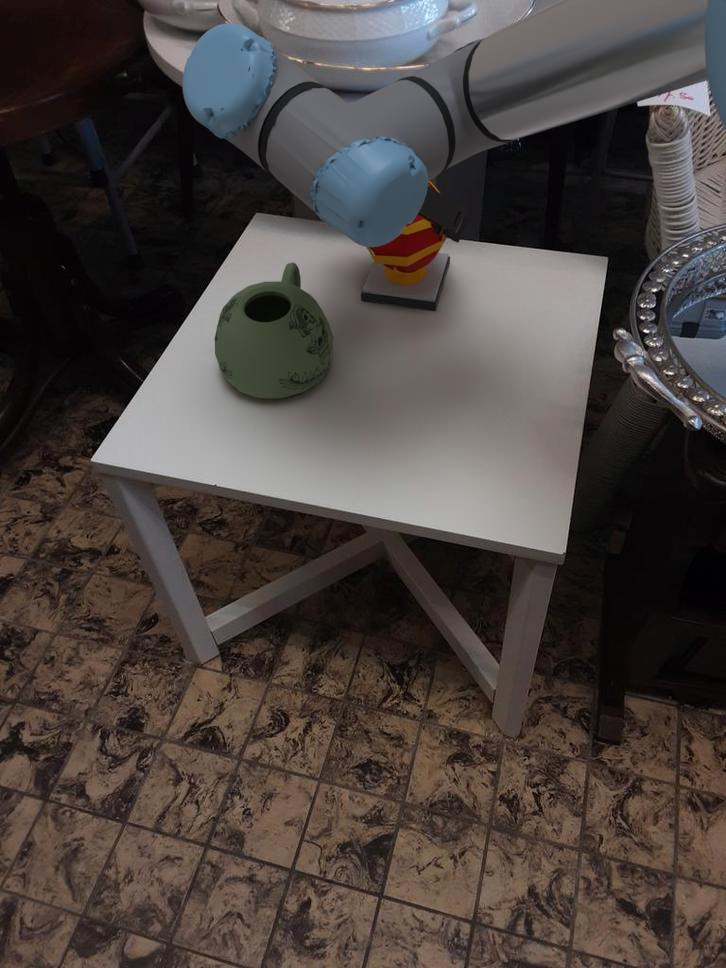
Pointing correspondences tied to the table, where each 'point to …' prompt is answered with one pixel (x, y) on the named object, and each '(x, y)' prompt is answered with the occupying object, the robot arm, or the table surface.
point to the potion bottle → (409, 251)
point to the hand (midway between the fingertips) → (421, 214)
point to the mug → (273, 338)
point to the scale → (408, 286)
